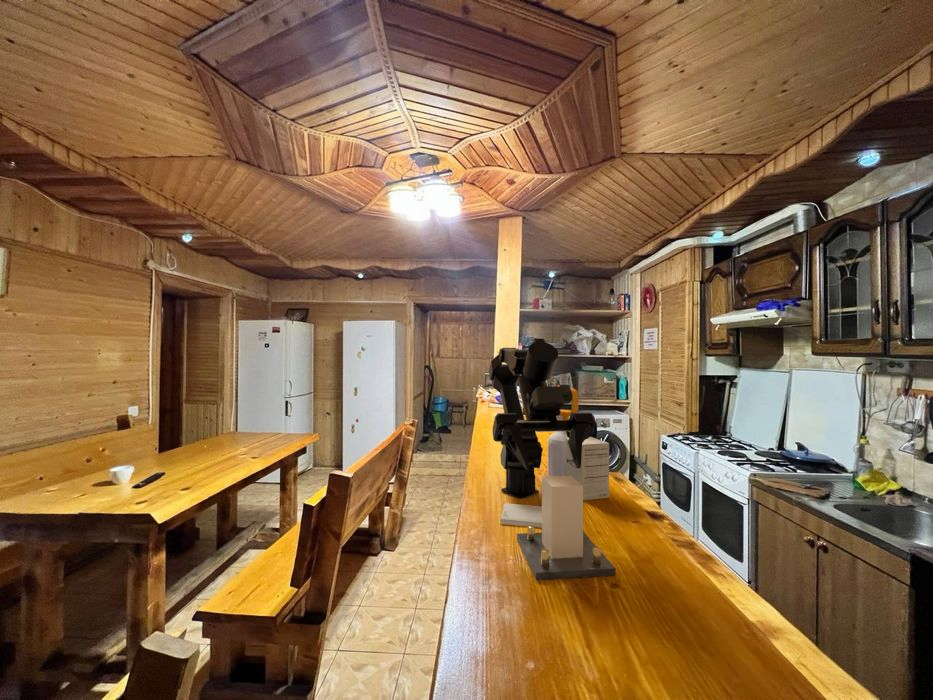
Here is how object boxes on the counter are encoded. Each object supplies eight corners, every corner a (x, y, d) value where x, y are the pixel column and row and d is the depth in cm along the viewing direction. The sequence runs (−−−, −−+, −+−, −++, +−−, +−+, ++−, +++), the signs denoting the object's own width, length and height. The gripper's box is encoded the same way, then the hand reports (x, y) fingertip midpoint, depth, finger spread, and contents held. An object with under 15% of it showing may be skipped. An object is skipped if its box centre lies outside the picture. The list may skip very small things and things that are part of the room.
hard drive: (500, 518, 72) (567, 523, 70) (504, 502, 80) (564, 506, 78) (500, 527, 72) (567, 532, 70) (504, 510, 80) (564, 514, 78)
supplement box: (564, 489, 91) (564, 437, 91) (591, 487, 93) (591, 435, 93) (581, 501, 84) (581, 444, 84) (610, 498, 86) (610, 442, 86)
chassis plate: (516, 539, 66) (516, 522, 66) (582, 536, 67) (582, 519, 67) (535, 579, 54) (535, 558, 54) (615, 575, 55) (615, 554, 55)
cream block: (541, 542, 63) (541, 476, 63) (570, 541, 63) (570, 475, 64) (551, 558, 58) (551, 486, 58) (583, 556, 58) (582, 485, 59)
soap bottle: (555, 471, 105) (555, 383, 106) (588, 477, 100) (587, 385, 101) (542, 479, 98) (542, 385, 99) (576, 486, 93) (576, 387, 93)
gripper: (495, 369, 70) (507, 443, 58) (592, 369, 71) (621, 441, 60) (488, 406, 77) (498, 478, 66) (576, 405, 79) (599, 475, 68)
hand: (553, 467), depth 65 cm, fingers open, 9 cm apart
